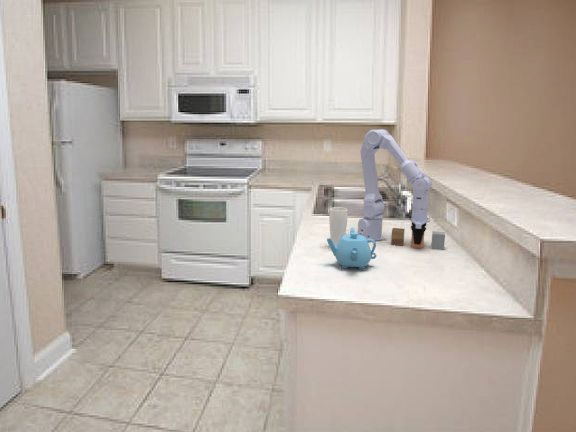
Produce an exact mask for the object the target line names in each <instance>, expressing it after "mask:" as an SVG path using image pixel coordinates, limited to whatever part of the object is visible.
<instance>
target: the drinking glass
mask: <svg viewBox="0 0 576 432" xmlns="http://www.w3.org/2000/svg"><path fill="white" fill-rule="evenodd" d="M348 212H349V211H348V208H346V207H341V206H336V207H330V208H329V221H328V222H329V235H330V236H329V238H331V239H332V241H333V242H334V244H335V245H336V246H337V245H338V243H339V241H340V239H341V237H342V236H343V235H347V233H346V232H347V228H348V227H347V225H348V217H349V215H348Z"/></svg>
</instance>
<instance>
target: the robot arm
mask: <svg viewBox="0 0 576 432" xmlns="http://www.w3.org/2000/svg"><path fill="white" fill-rule="evenodd" d="M380 149H384V150H387V151H388V152H389V153H390V154H391V155H392V156H393V158H394V159H395V160H396V162H398V164H400V171H401V173H402V174H403V175H404V176H405V177H406V179H407V180H408V181H409V183H410V184H411V190H412V191H413V194H412V195H413V196H412V209H411V218H410V222H411V225H410V229H411V233H412V232H413V237H414V244H418V245H420V243H421V240H422V236H423V234H424V235H425V232H426V230H427V223H430V222H431V219H428V214H429V213H428V212H429V211H428V210H429V199H430V189H431V187H432V184H433V183H432V180H431V178H430V177H429V176H427V175H426V173H425V172H423V171H422V170H421V169H420V167H419V166H418V162H417V161H414V160H411V159H409V158H408V157H407V156H406V155H405V154H404V153H405V152H403V151H402V149H401V148H400V146H399V144H398V143H397V142H396V141H395V139H394V137H393V136H392V135H391V134H390V133H389V131H388V130H386V129H385V128H381V129H370V130H369V131H368V132H366V134H365V135H364V137H363V142H362V145H361V148H360V157H361V158H360V159H361V166H362V174H363V182H364V190H365V192H364V193H365V196H364V198H363V207H362V214H363V215H364V217H363V218H360V219H359V220H358V223H357V233H358V235H362V236H364V237H365V238H366V239H372V240H374V241H375V242H377V241H383V240H384V241H385V240H387V238H386V237H384V236H382V235H383V219H384V218H383V216H384V215H383V213H384V212H386V204H385V202H384V199H383V195H381V193H380V189H379V181H378V172H377V165H376V157H375V155H376V153H377V152H378V151H379V150H380ZM369 242H371V241H368V243H369Z"/></svg>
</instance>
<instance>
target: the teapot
mask: <svg viewBox="0 0 576 432" xmlns="http://www.w3.org/2000/svg"><path fill="white" fill-rule="evenodd" d="M326 241H327V244H328V246H329V248H330V250H331V252H332V255H333V256H334V257H335V259H336V261H337V263H338V264H339V265H341V269H342V270H347V269H349V267H355V268H356V267H357V269H358V270H361V271H363V270H366V268H365V267H366V266H367V265H369V263H370V262H371V260H375V259H376V258H377V253H376V252H375V249H376V247H377V241H374V240H372V239H366V238H365V237H364V236H362V235H358V232H355V228H354V227H353V226H351V227H350V233H349V234H345V235H343V236H342V237H341V239H340V241H339V243H338V245H337V246H336V245H335V244H334V242H333V241H332V239H331V238H330V237H329V238H326ZM368 241H370V242H371V243H373V246H372V249H371V247H370V245H369V242H368Z"/></svg>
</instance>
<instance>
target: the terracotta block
mask: <svg viewBox="0 0 576 432" xmlns="http://www.w3.org/2000/svg"><path fill="white" fill-rule="evenodd" d="M424 238H425V233H424V234H423V236H422V240H421V243H420V245H418V244H414V237H413V232H412V231H411V241H410V243H411V244H410V248H418V249H423V248H424V242H425V241H424V240H425V239H424Z"/></svg>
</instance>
